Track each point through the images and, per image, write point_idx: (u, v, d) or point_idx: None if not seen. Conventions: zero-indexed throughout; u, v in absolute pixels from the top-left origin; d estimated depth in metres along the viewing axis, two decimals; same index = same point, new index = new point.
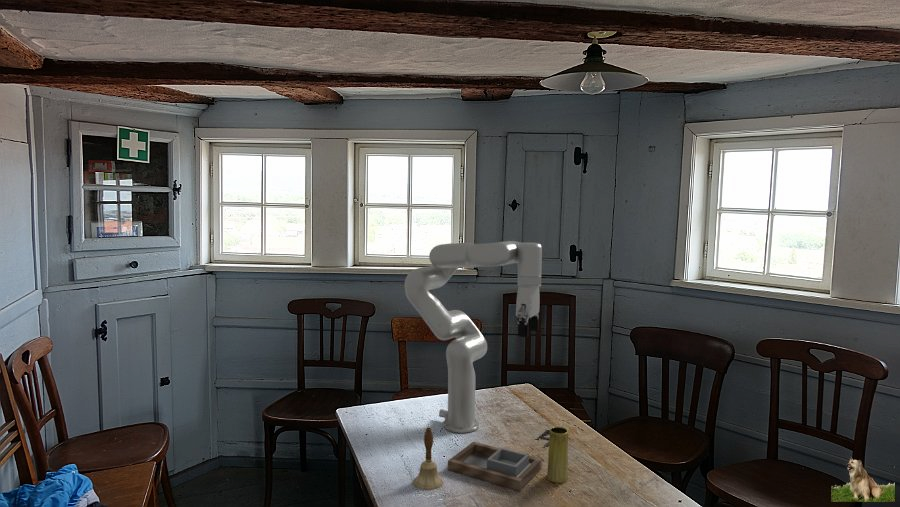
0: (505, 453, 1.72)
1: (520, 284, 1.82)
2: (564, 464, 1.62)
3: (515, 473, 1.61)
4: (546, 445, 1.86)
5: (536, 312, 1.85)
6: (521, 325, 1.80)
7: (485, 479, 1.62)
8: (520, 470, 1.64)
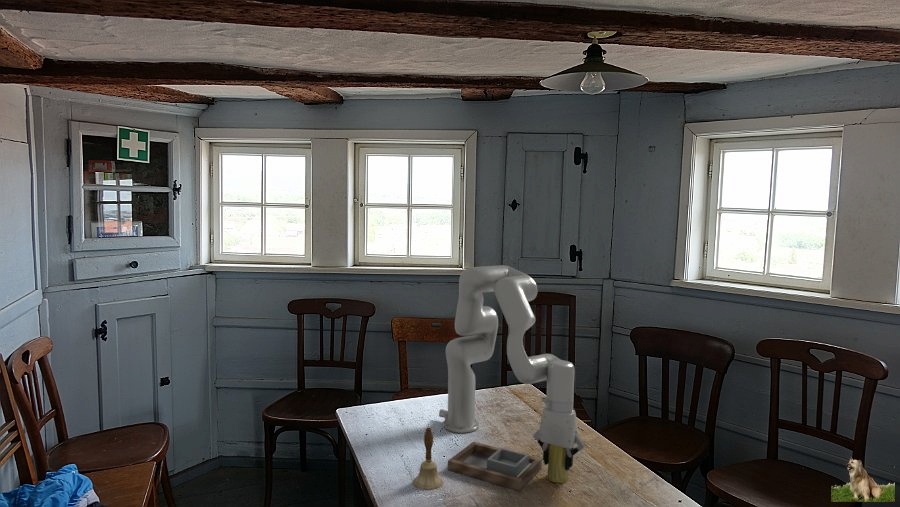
0: (505, 453, 1.72)
1: (568, 411, 1.60)
2: (564, 464, 1.62)
3: (515, 473, 1.61)
4: None
5: None
6: (572, 456, 1.62)
7: (485, 479, 1.62)
8: (520, 470, 1.64)
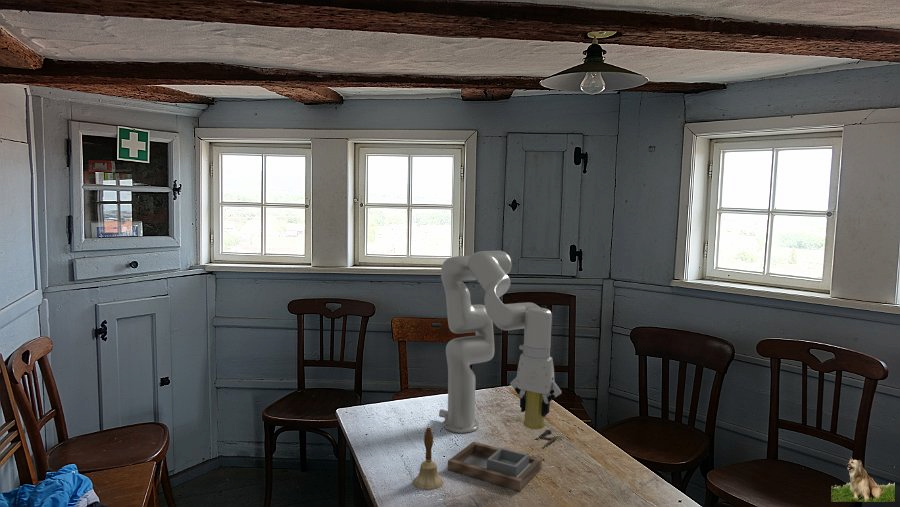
0: (505, 453, 1.72)
1: (545, 357, 1.60)
2: (541, 411, 1.62)
3: (515, 473, 1.61)
4: (546, 445, 1.86)
5: None
6: (548, 403, 1.62)
7: (485, 479, 1.62)
8: (520, 470, 1.64)
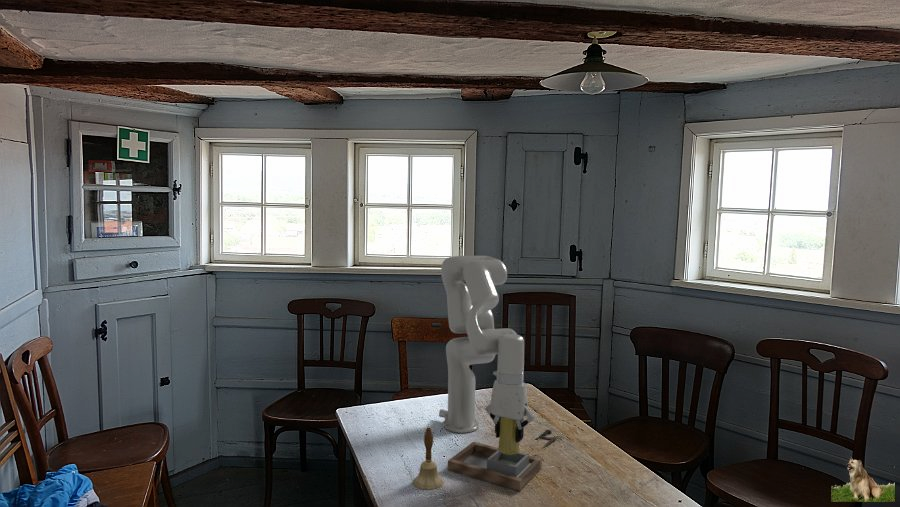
0: None
1: (518, 383, 1.62)
2: (515, 436, 1.64)
3: (515, 473, 1.61)
4: (546, 445, 1.86)
5: None
6: (522, 429, 1.64)
7: (485, 479, 1.62)
8: (520, 470, 1.64)
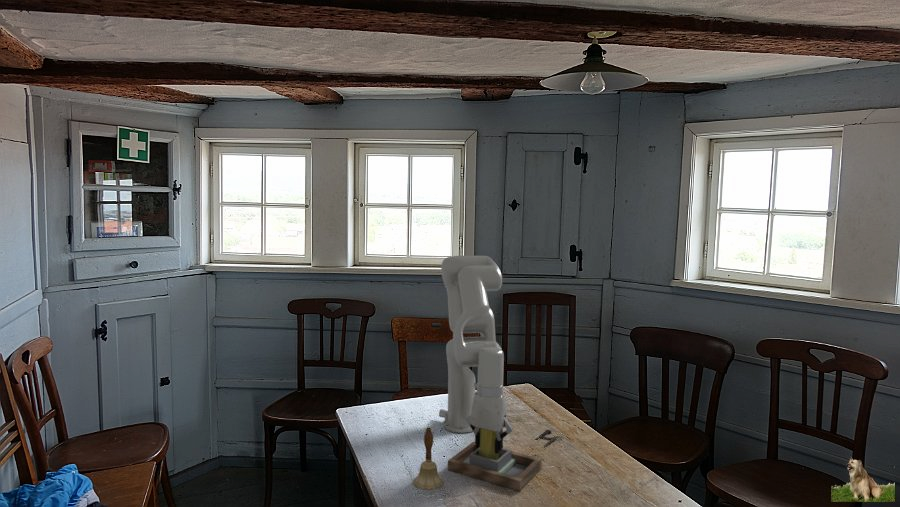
0: None
1: (497, 396, 1.66)
2: (494, 447, 1.68)
3: (497, 468, 1.64)
4: (546, 445, 1.86)
5: None
6: (501, 440, 1.68)
7: (485, 479, 1.62)
8: (502, 465, 1.66)
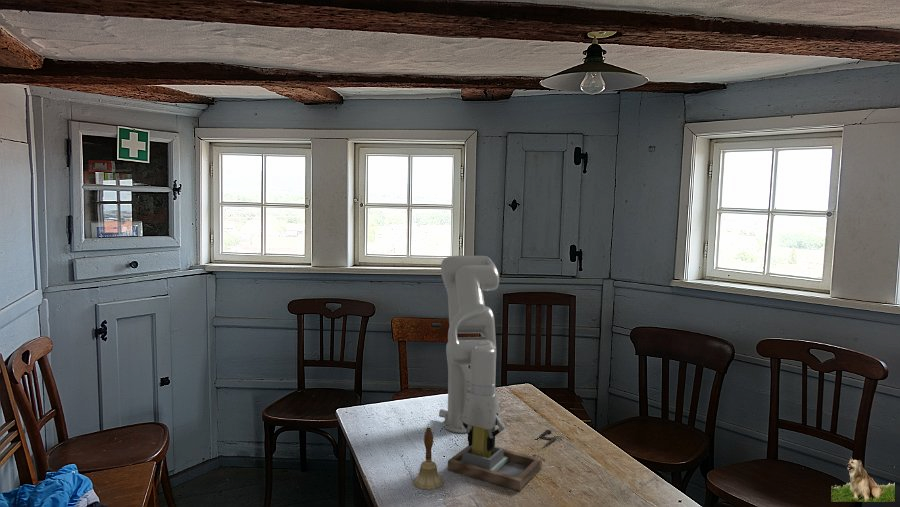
0: None
1: (489, 394, 1.67)
2: (486, 445, 1.69)
3: (489, 466, 1.65)
4: (546, 445, 1.86)
5: None
6: (493, 438, 1.69)
7: (485, 479, 1.62)
8: (494, 463, 1.68)
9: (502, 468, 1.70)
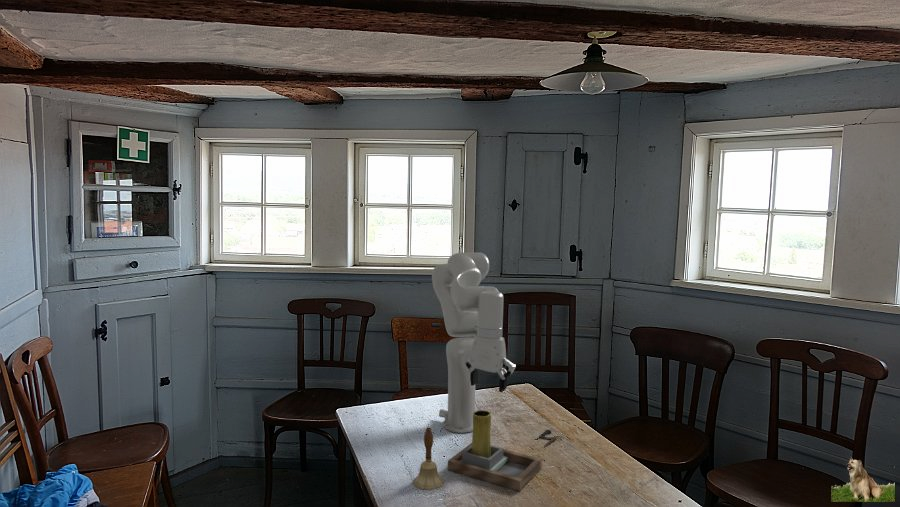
0: None
1: (496, 337, 1.69)
2: (486, 446, 1.69)
3: (489, 466, 1.65)
4: (546, 445, 1.86)
5: None
6: (505, 379, 1.70)
7: (485, 479, 1.62)
8: (494, 463, 1.68)
9: (502, 468, 1.70)
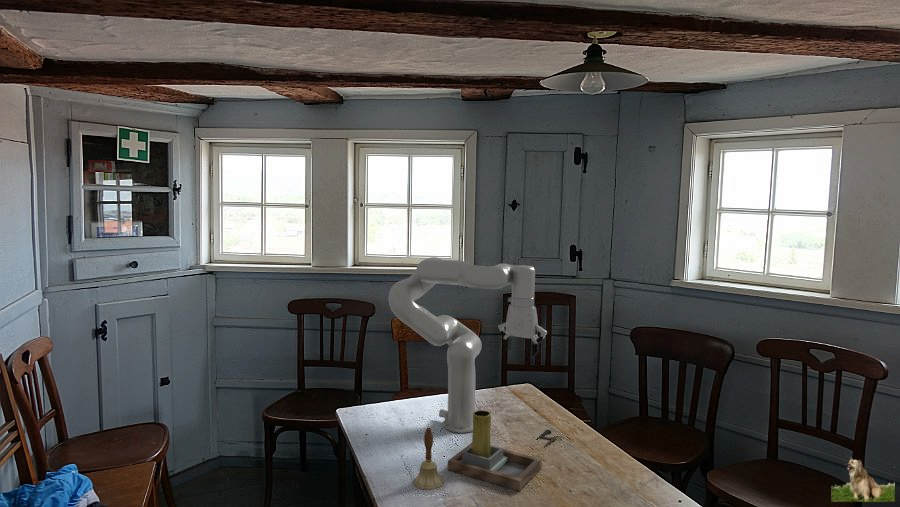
0: None
1: (529, 306, 1.89)
2: (486, 446, 1.69)
3: (489, 466, 1.65)
4: (546, 445, 1.87)
5: None
6: (537, 344, 1.90)
7: (485, 479, 1.62)
8: (494, 463, 1.68)
9: (502, 468, 1.70)
